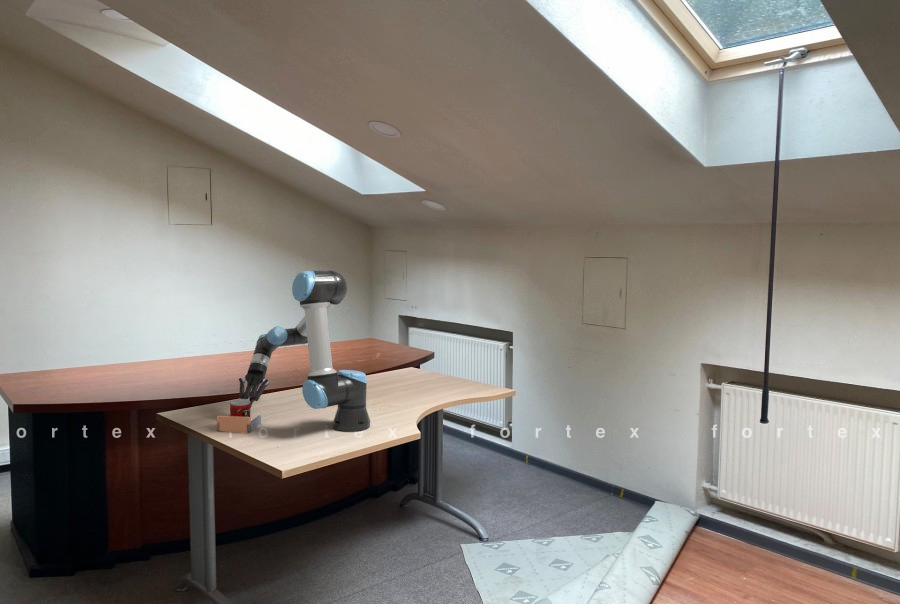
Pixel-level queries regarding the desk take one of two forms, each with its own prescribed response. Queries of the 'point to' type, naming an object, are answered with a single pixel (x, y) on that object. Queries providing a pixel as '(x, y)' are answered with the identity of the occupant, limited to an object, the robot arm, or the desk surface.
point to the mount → (237, 423)
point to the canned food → (240, 408)
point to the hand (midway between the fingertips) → (243, 414)
